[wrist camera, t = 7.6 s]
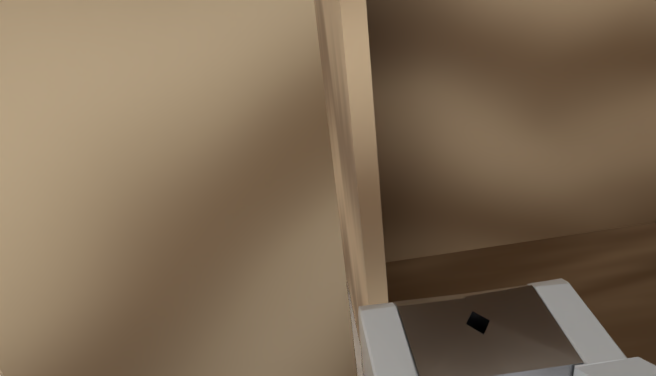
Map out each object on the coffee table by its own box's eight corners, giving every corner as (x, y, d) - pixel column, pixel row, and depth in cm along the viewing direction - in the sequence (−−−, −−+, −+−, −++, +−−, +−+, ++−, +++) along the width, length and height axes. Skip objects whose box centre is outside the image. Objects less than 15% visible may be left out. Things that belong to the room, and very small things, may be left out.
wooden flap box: (282, -266, 16) (320, -551, 6) (761, -321, 17) (1648, -680, 6) (346, 283, 25) (407, 576, 15) (654, 237, 26) (930, 488, 15)
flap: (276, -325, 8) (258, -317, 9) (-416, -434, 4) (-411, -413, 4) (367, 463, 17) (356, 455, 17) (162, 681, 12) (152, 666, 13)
